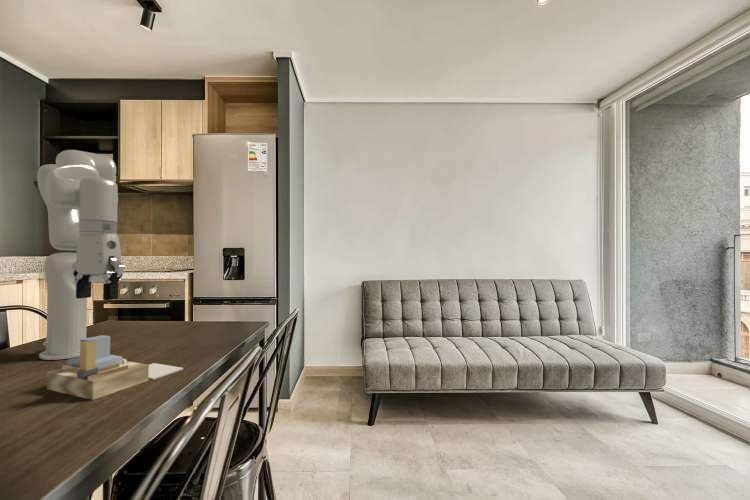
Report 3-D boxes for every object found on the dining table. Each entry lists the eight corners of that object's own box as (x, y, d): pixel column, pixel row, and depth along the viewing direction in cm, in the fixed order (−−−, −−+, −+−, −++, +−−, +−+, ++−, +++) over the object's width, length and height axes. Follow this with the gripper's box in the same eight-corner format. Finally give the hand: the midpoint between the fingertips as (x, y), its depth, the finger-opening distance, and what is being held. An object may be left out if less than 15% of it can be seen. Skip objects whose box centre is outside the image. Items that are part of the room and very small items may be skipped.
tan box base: (46, 389, 85) (47, 367, 85) (104, 372, 97) (105, 353, 97) (93, 399, 80) (93, 376, 80) (148, 380, 92) (148, 360, 92)
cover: (67, 368, 88) (67, 339, 88) (97, 360, 95) (98, 333, 95) (92, 373, 85) (92, 342, 85) (122, 364, 92) (122, 336, 92)
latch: (68, 376, 82) (69, 341, 82) (83, 372, 84) (84, 338, 85) (83, 379, 80) (84, 344, 80) (97, 375, 83) (98, 341, 83)
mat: (123, 374, 96) (123, 372, 96) (154, 364, 105) (154, 363, 105) (153, 379, 93) (153, 378, 93) (183, 369, 101) (183, 367, 101)
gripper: (138, 229, 91) (136, 298, 90) (91, 230, 97) (89, 295, 96) (106, 227, 84) (105, 302, 83) (58, 228, 90) (56, 298, 89)
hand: (96, 298), depth 90 cm, fingers open, 9 cm apart
